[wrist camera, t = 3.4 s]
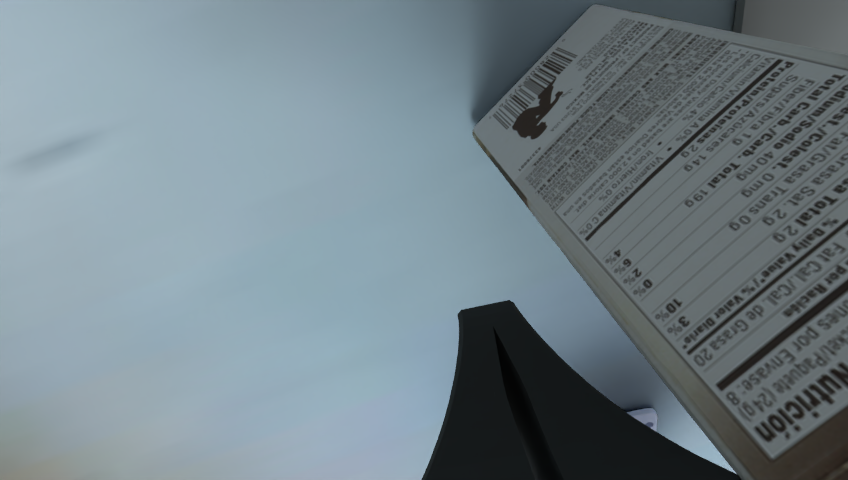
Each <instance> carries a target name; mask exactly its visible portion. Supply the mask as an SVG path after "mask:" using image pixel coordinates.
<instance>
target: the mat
mask: <svg viewBox="0 0 848 480" xmlns="http://www.w3.org/2000/svg"><path fill="white" fill-rule="evenodd" d="M733 32H736V33H740V34H745V35H750V36H755V37H760V38H765V39H770V40H775V41H780V42H785V43H790V44H795V45H800V46H805V47H810V48H815V49H820V50H825V51H830V52H835V53H840V54H845V55H848V0H737V3H736V11H735V19H734V28H733Z"/></svg>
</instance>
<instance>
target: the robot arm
mask: <svg viewBox="0 0 848 480" xmlns="http://www.w3.org/2000/svg"><path fill="white" fill-rule="evenodd" d="M458 320H459V347H458V356H457V363H456V370H455V376H454V381H453V386H452V390H451V395H450V400H449V404H448V408H447V411H446V415H445V418H444V422H443V425H442V428H441V431H440V434H439V437H438V440H437V443H436V445H435V448H434V451H433V454H432V456H431V459H430V461H429V464H428V466H427V469H426V471H425V473H424V475H423V478H422V480H741V478H740V477H739V476H738V475H737V474H735V473H733V472H731V471H729V470H727V469H725V468H722V467H720V466H718V465H716V464H714V463H712V462H710V461H708V460H706V459H704V458H702V457H700V456H698V455H696V454H694V453H692V452H690V451H688V450H686V449H685V448H683V447H681V446H679V445H678V444H676V443H674V442H672V441H670V440H669V439H667V438H665V437H664V436H662V435H661V434H659V433H657V421H658V416H657V413H656V412H655V410H654V409H652V408H645V409H640V410H635V411H630V412H625V411H624V410H622V409H621V408H620V407H618V406H617V405H616V404H614V403H613V402H611V401H610V400H609V399H608V398H606V397H605V396H604V395H602V394H601V393H600V392H599V391H597V390H596V389H595V388H594V387H592V386H591V385H590V384H589V383H588V382H586V381H585V380H584V379H583V378H582V377H581V376H580V375H579V374H577V373H576V372H575V371H574V370H573V369H572V368H571V367H570V366H569V365H568V364H567V363H565V362H564V361H563V360H562V359H561V358H560V357H559V356H558V355H557V354H556V353H555V352H554V351H553V349H552V348H551V347H550V346H549V345H548V344H547V343H546V342H545V341H544V340H543V339H542V338H541V337H540V336H539V335H538V334H537V332H536V331H535V330H534V329H533V328H532V327H531V325H530V324H529V323H528V322H527V320H526V319H525V318H524V317H523V315H522V314H521V313H520V311H519V310H518V309H517V307H516V306H515V304H514V303H513V302H511V301H510V300H507V301H503V302H498V303H493V304H488V305H483V306H478V307H474V308H469V309H464V310H461V311H460V312H459V313H458Z"/></svg>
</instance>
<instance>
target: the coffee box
mask: <svg viewBox="0 0 848 480" xmlns="http://www.w3.org/2000/svg"><path fill="white" fill-rule="evenodd" d="M473 137H474V139H475V140H476V141H477V143H478V144H479V145H480V147H481V148H482V149H483V150H484V152H485V153H486V154H487V155H488V157H489V158H490V159H491V160H492V162H493V163H494V164H495V165H496V167H497V168H498V169H499V171H500V172H501V173H502V174H503V176H504V177H505V178H506V180H507V181H508V182H509V184H510V185H511V186H512V188H513V189H514V190H515V191H516V193H517V194H518V195H519V197H520V198H521V199H522V201H523V202H524V203H525V204H526V206H527V207H528V208H529V210H530V211H531V212H532V214H533V215H534V216H535V218H536V219H537V220H538V222H539V223H540V224H541V225H542V227H543V228H544V229H545V231H546V232H547V233H548V234H549V236H550V237H551V238H552V239H553V241H554V242H555V243H556V244H557V246H558V247H559V248H560V250H561V251H562V252H563V253H564V255H565V256H566V257H567V259H568V260H569V261H570V263H571V264H572V266H573V267H574V268H575V269H576V271H577V272H578V273H579V274H580V276H581V277H582V278H583V279H584V281H585V282H586V283H587V285H588V286H589V287H590V288H591V290H592V291H593V292H594V294H595V295H596V296H597V297H598V299H599V300H600V301H601V303H602V304H603V305H604V307H605V308H606V309H607V310H608V312H609V313H610V314H611V316H612V317H613V318H614V319H615V321H616V322H617V323H618V325H619V326H620V327H621V328H622V330H623V331H624V332H625V333H626V335H627V336H628V337H629V339H630V340H631V341H632V342H633V344H634V345H635V346H636V347H637V349H638V350H639V351H640V352H641V354H642V355H643V356H644V357H645V359H646V360H647V361H648V363H649V364H650V365H651V366H652V368H653V369H654V370H655V371H656V373H657V374H658V375H659V377H660V378H661V379H662V380H663V382H664V383H665V384H666V385H667V387H668V388H669V389H670V391H671V392H672V393H673V394H674V396H675V397H676V398H677V400H678V401H679V402H680V403H681V405H682V406H683V407H684V408H685V410H686V411H687V412H688V413H689V415H690V416H691V417H692V418H693V420H694V421H695V422H696V423H697V425H698V426H699V427H700V428H701V430H702V431H703V432H704V433H705V435H706V436H707V437H708V438H709V440H710V441H711V442H712V443H713V445H714V446H715V447H716V448H717V450H718V451H719V452H720V453H721V455H722V456H723V457H724V458H725V460H726V461H727V462H728V463H729V465H730V466H731V467H732V468H733V470H734V471H735V472H736V473H737V475H738V476H739V477H740V478H741V480H848V55H845V54H840V53H835V52H830V51H825V50H820V49H815V48H810V47H805V46H800V45H795V44H790V43H785V42H780V41H775V40H770V39H765V38H760V37H755V36H750V35H745V34H740V33H736V32H731V31H726V30H721V29H717V28H712V27H707V26H702V25H697V24H693V23H688V22H683V21H679V20H672V19H667V18H664V17H658V16H654V15H648V14H642V13H640V12H633V11H629V10H622V9H617V8H613V7H608V6H603V5H598V4H594V5H592V6H591V7H589V8H588V9H587V10H586V11H585V13H584V14H583V15H582V16H581V17H580V18H579V19H578V20H577V21H576V22H575V23H574V24H573V25H572V26H571V27H570V28H569V29H568V30H567V31H566V32H565V33H564V34H563V35H562V36H561V37H560V38H559V39H558V40H557V41H556V42H555V44H554V45H553V46H552V47H551V48H550V49H549V50H548V51H547V52H546V53H545V54H544V55H543V56H542V57H541V58H540V59H539V60H538V61H537V62H536V63H535V64H534V65H533V66H532V67H531V68H530V69H529V71H528V72H527V73H526V74H525V75H524V76H523V77H522V78H521V79H520V80H519V81H518V82H517V83H516V84H515V85H514V86H513V87H512V88H511V89H510V90H509V91H508V92H507V93H506V94H505V95H504V97H503V98H502V99H501V100H500V101H499V102H498V103H497V104H496V105H495V106H494V107H493V108H492V109H491V110H490V111H489V112H488V113H487V114H486V115H485V116H484V117H483V118H482V119H481V120H480V121H479V122H478V124H477V125H476V126H475V127H474V128H473Z"/></svg>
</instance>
